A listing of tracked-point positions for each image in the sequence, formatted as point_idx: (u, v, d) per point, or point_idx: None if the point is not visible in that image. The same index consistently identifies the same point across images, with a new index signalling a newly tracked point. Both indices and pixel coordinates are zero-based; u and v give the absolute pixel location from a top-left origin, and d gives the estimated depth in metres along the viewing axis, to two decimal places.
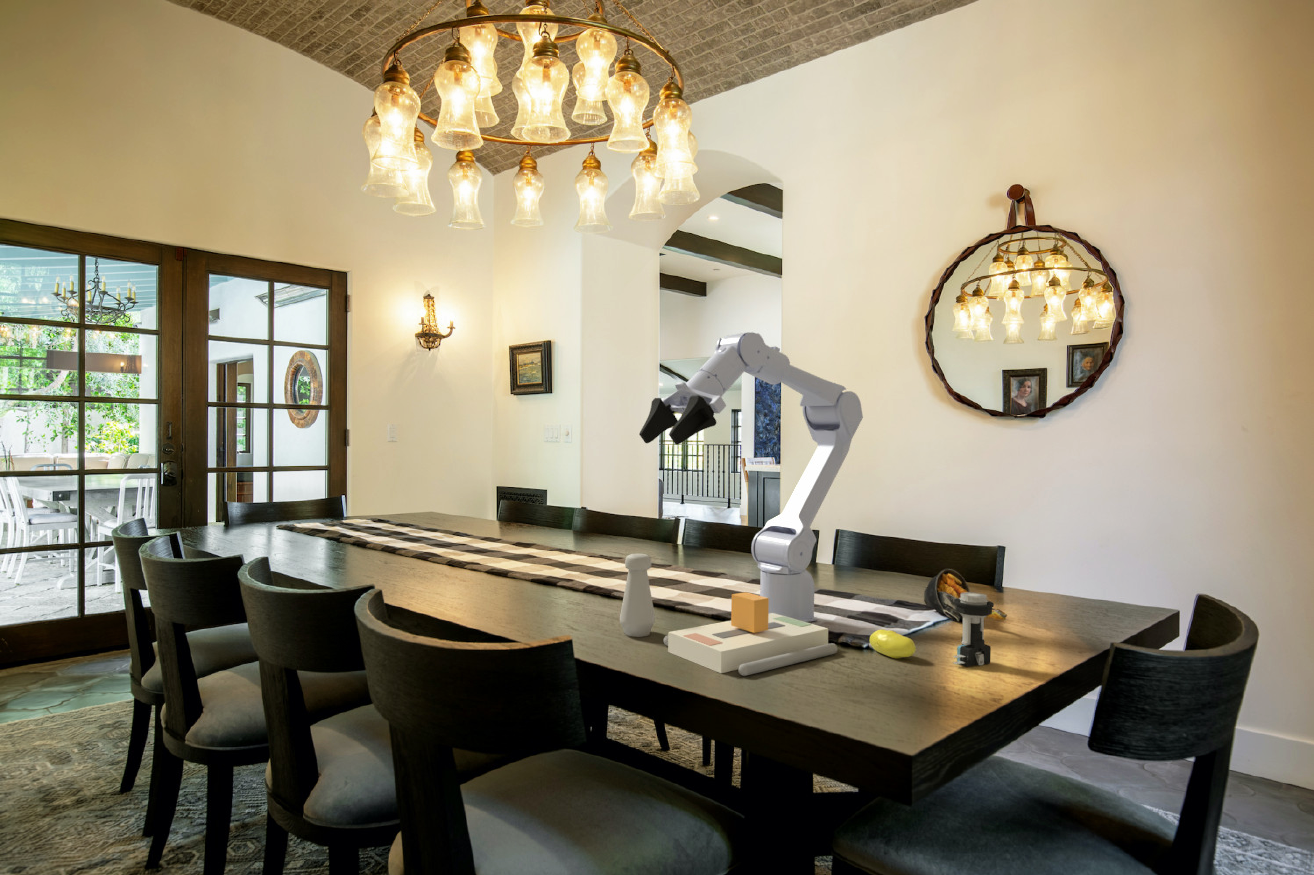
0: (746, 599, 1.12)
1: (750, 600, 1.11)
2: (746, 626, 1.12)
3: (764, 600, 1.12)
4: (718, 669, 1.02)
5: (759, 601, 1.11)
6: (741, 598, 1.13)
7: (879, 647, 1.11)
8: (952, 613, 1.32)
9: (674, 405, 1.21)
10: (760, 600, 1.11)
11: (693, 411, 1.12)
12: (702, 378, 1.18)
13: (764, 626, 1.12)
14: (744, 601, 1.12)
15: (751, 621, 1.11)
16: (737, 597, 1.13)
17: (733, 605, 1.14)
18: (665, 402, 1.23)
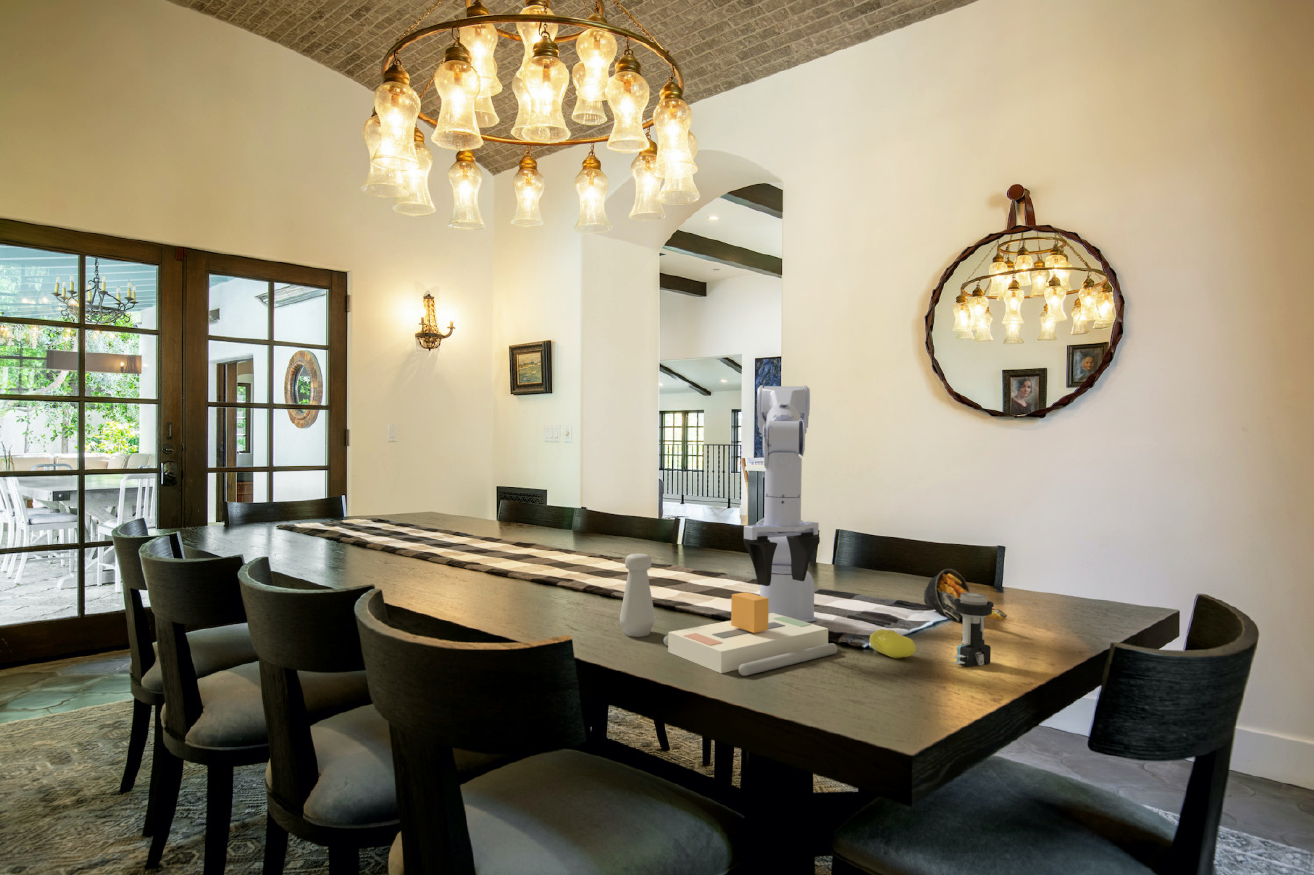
0: (746, 599, 1.12)
1: (750, 600, 1.11)
2: (746, 626, 1.12)
3: (764, 600, 1.12)
4: (718, 669, 1.02)
5: (759, 601, 1.11)
6: (741, 598, 1.13)
7: (879, 647, 1.11)
8: (952, 613, 1.32)
9: (768, 533, 1.15)
10: (760, 600, 1.11)
11: None
12: (800, 507, 1.16)
13: (764, 626, 1.12)
14: (744, 601, 1.12)
15: (751, 621, 1.11)
16: (737, 597, 1.13)
17: (733, 605, 1.14)
18: None
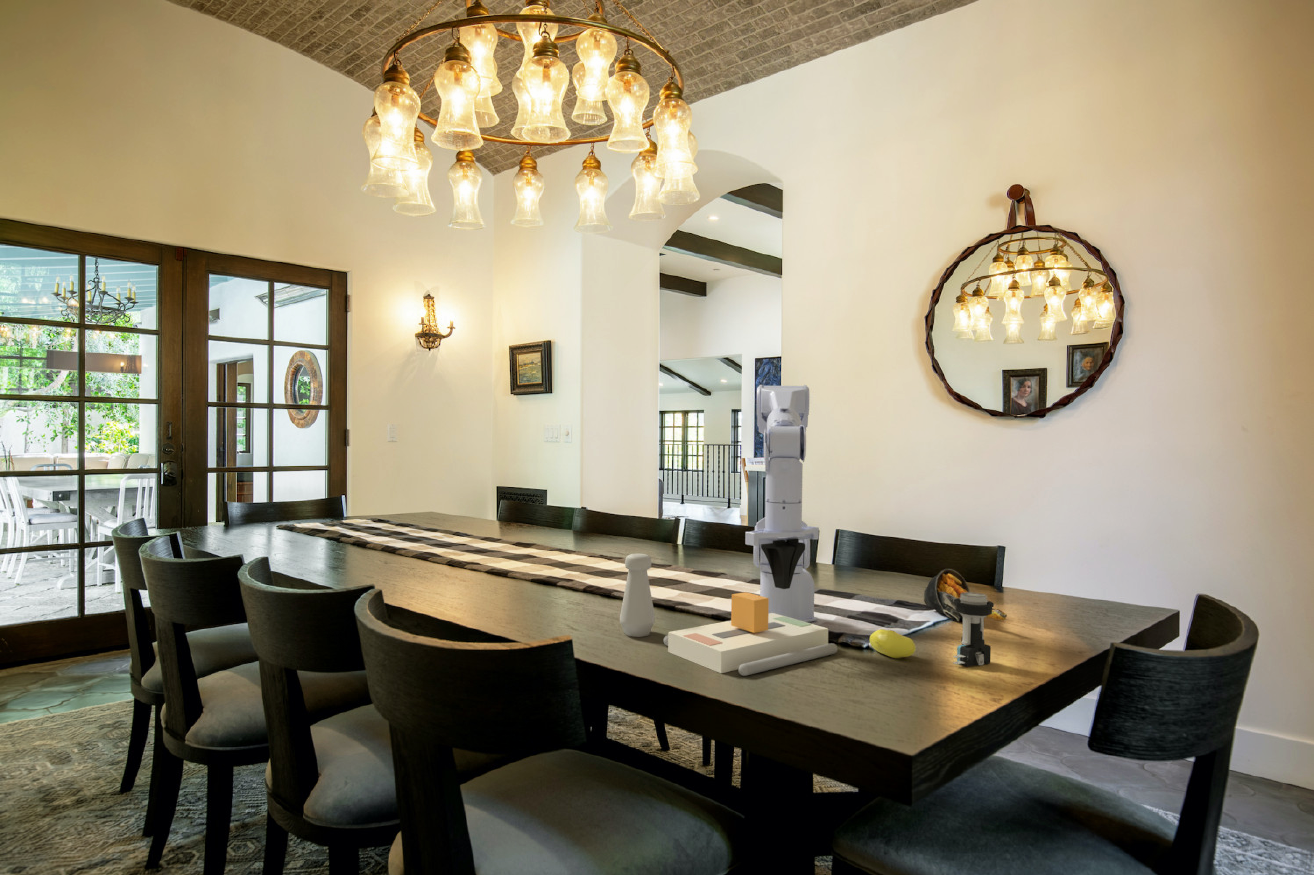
0: (746, 599, 1.12)
1: (750, 600, 1.11)
2: (746, 626, 1.12)
3: (764, 600, 1.12)
4: (718, 669, 1.02)
5: (759, 601, 1.11)
6: (741, 598, 1.13)
7: (879, 647, 1.11)
8: (952, 613, 1.32)
9: (769, 539, 1.15)
10: (760, 600, 1.11)
11: None
12: (801, 512, 1.16)
13: (764, 626, 1.12)
14: (744, 601, 1.12)
15: (751, 621, 1.11)
16: (737, 597, 1.13)
17: (733, 605, 1.14)
18: None
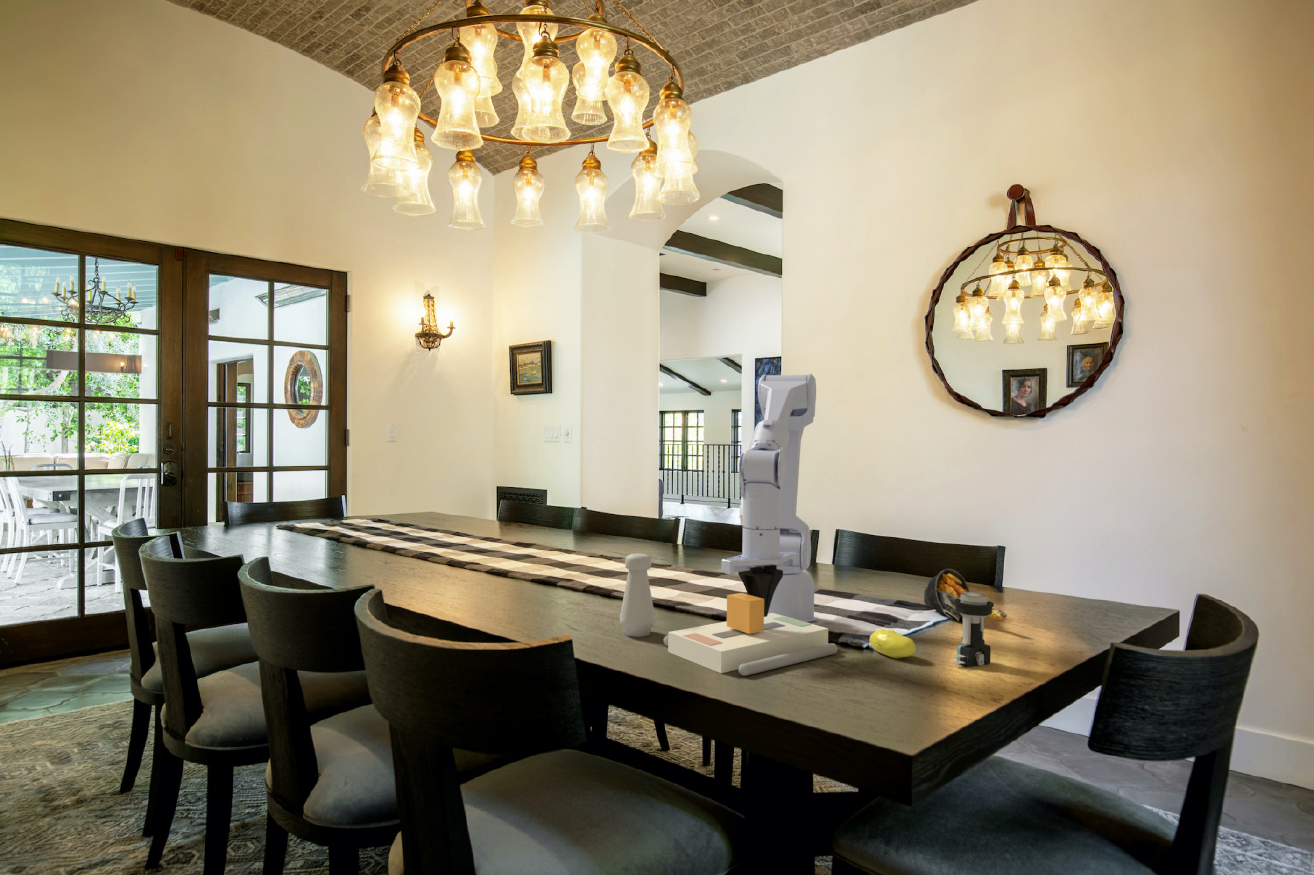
0: (741, 600, 1.11)
1: (745, 601, 1.10)
2: (741, 627, 1.11)
3: (759, 601, 1.11)
4: (718, 669, 1.02)
5: (754, 602, 1.10)
6: (736, 599, 1.12)
7: (879, 647, 1.11)
8: (952, 613, 1.32)
9: (746, 566, 1.12)
10: (755, 601, 1.11)
11: None
12: (779, 538, 1.13)
13: (759, 627, 1.11)
14: (739, 601, 1.11)
15: (746, 622, 1.10)
16: (732, 598, 1.13)
17: (729, 606, 1.13)
18: (735, 565, 1.10)
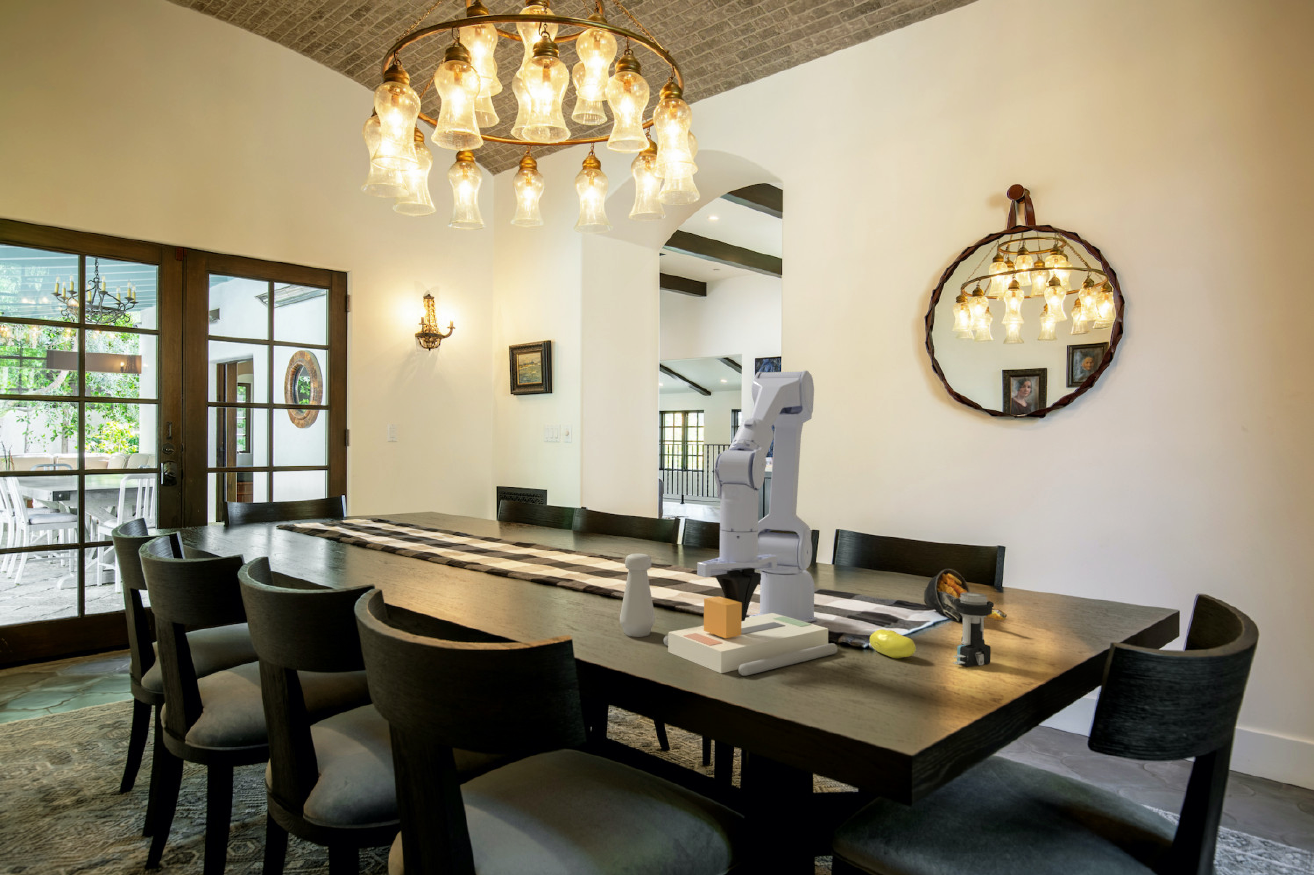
0: (718, 604, 1.08)
1: (722, 605, 1.08)
2: (718, 631, 1.08)
3: (737, 605, 1.08)
4: (718, 669, 1.02)
5: (731, 606, 1.08)
6: (713, 603, 1.09)
7: (879, 647, 1.11)
8: (952, 613, 1.32)
9: (722, 569, 1.09)
10: (733, 605, 1.08)
11: None
12: (757, 541, 1.11)
13: (737, 631, 1.08)
14: (716, 605, 1.09)
15: (723, 626, 1.07)
16: (709, 601, 1.10)
17: (706, 609, 1.11)
18: None
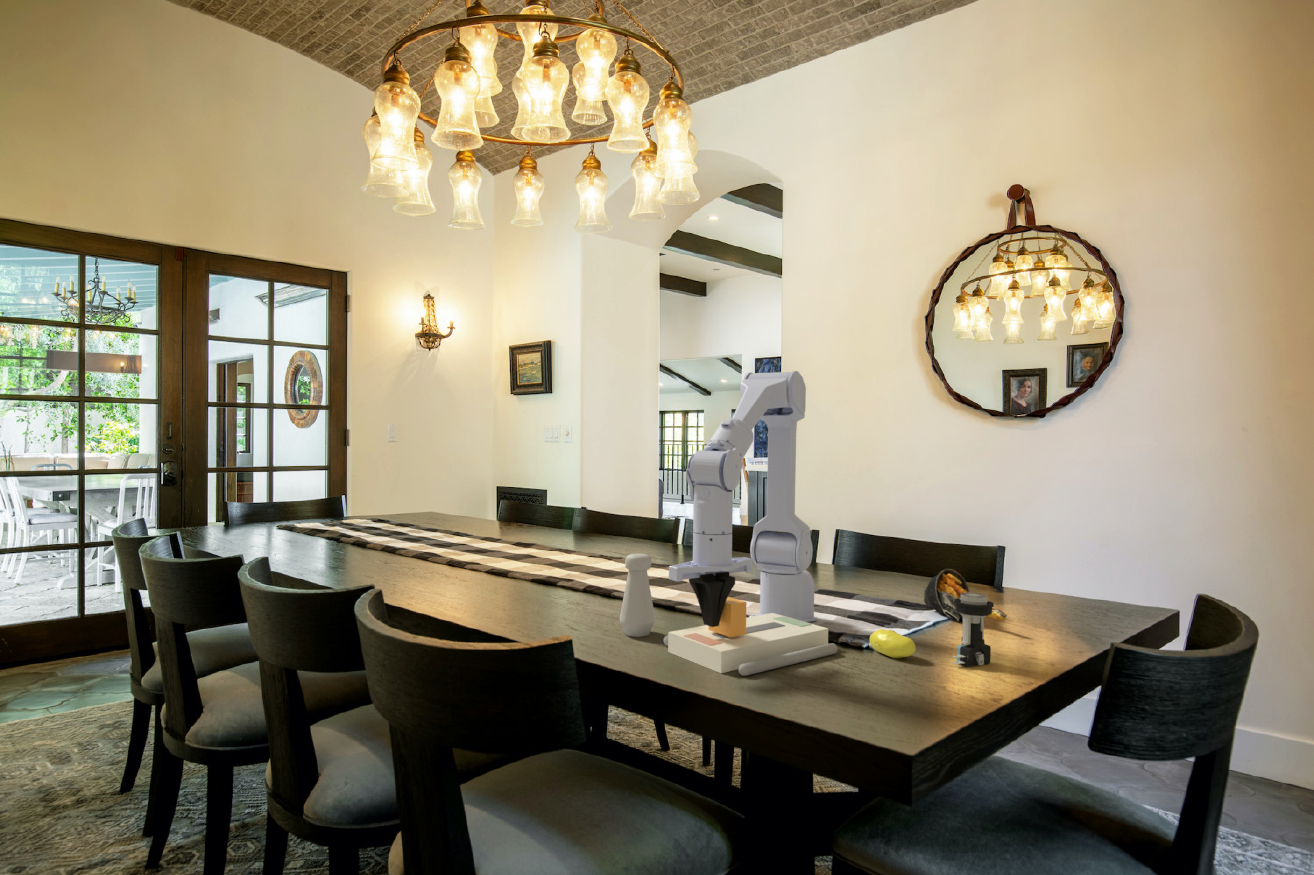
0: None
1: (727, 604, 1.08)
2: (723, 630, 1.09)
3: (741, 604, 1.09)
4: (718, 669, 1.02)
5: (736, 605, 1.08)
6: None
7: (879, 647, 1.11)
8: (952, 613, 1.32)
9: (695, 573, 1.06)
10: (737, 604, 1.08)
11: None
12: (731, 544, 1.08)
13: (742, 630, 1.09)
14: None
15: (728, 625, 1.08)
16: None
17: None
18: (683, 572, 1.05)
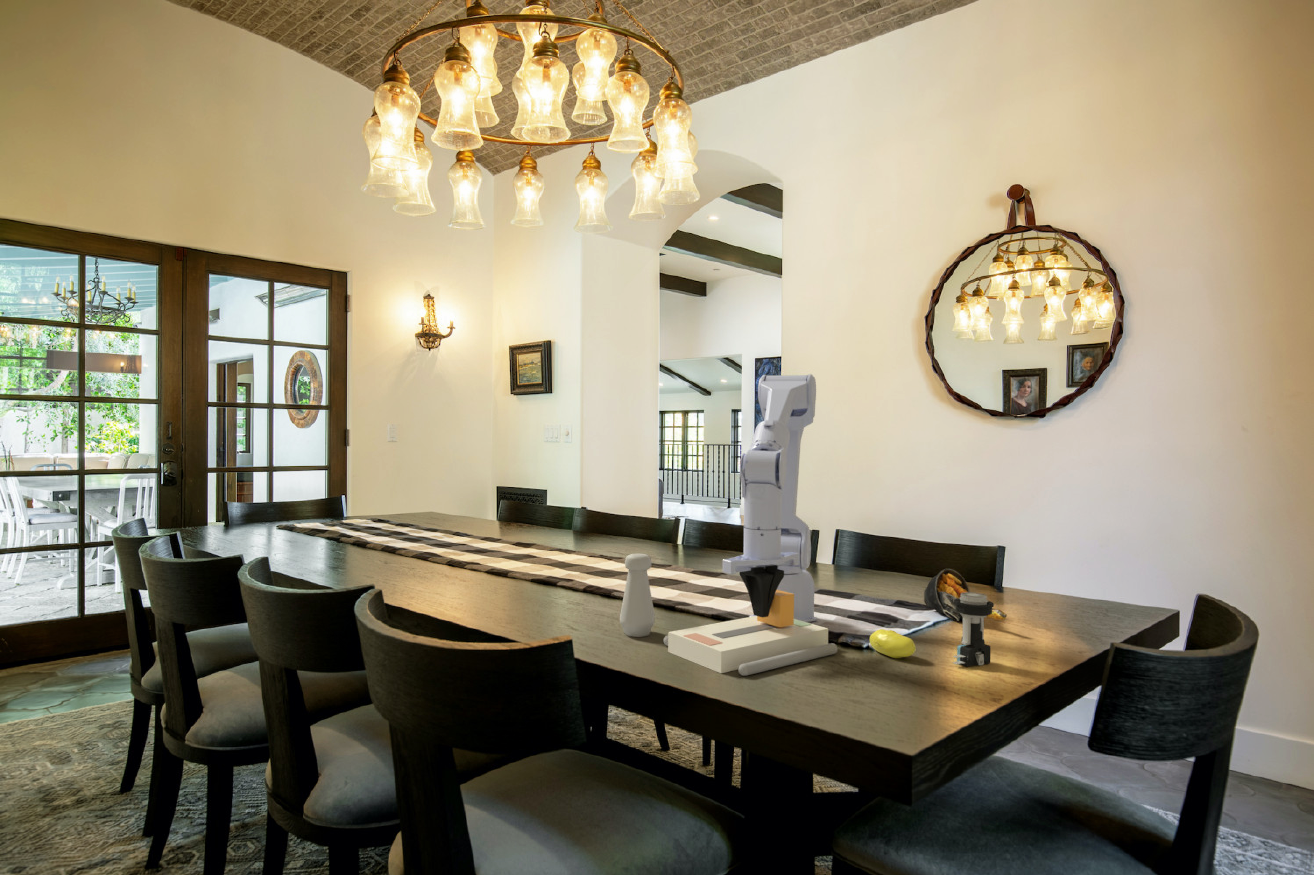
0: None
1: (776, 596, 1.14)
2: (772, 621, 1.15)
3: (790, 596, 1.15)
4: (718, 669, 1.02)
5: (785, 597, 1.14)
6: None
7: (879, 647, 1.11)
8: (952, 613, 1.32)
9: (747, 566, 1.12)
10: (786, 596, 1.14)
11: None
12: (780, 539, 1.14)
13: (790, 621, 1.15)
14: None
15: (777, 616, 1.14)
16: None
17: None
18: (736, 566, 1.11)
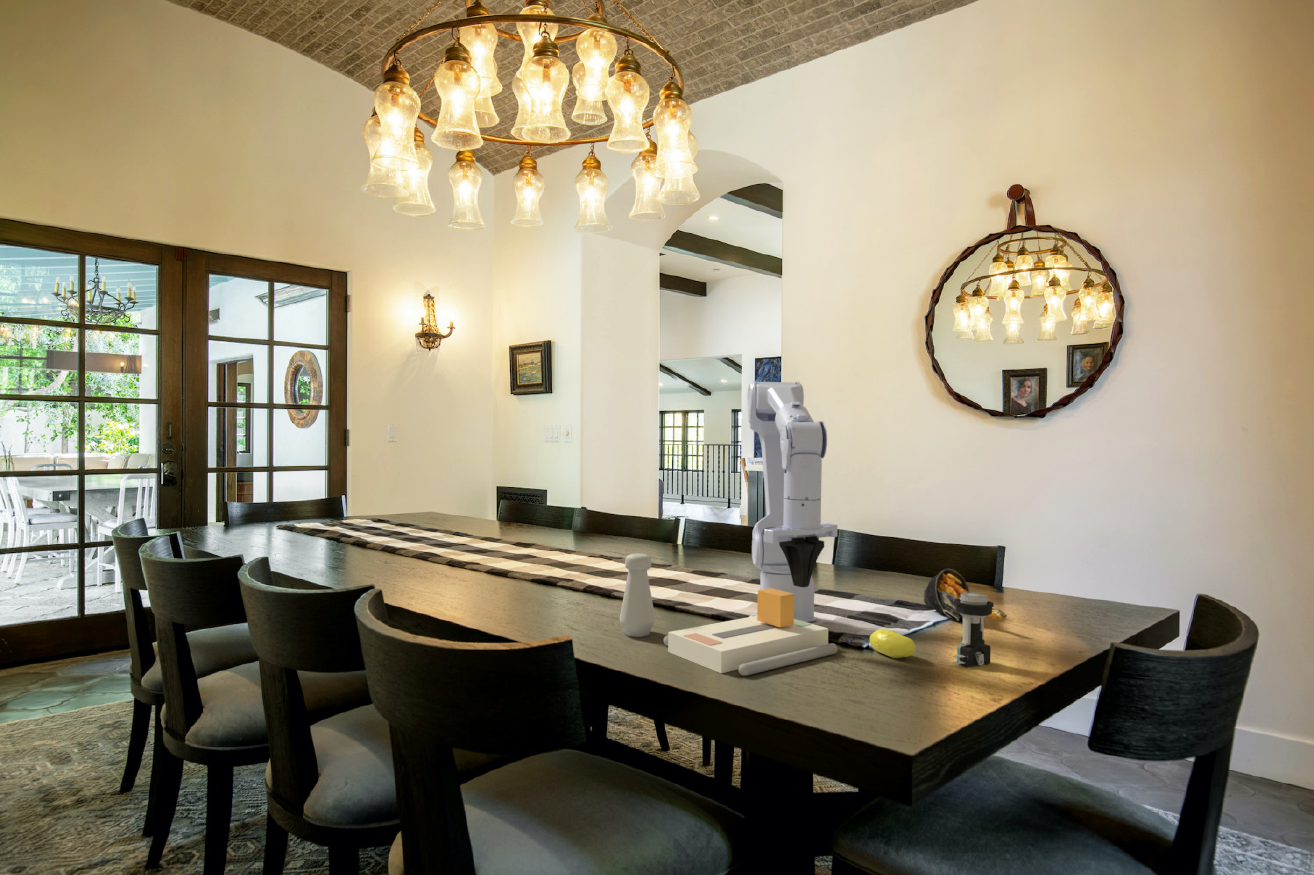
0: (772, 595, 1.15)
1: (776, 596, 1.14)
2: (772, 621, 1.15)
3: (790, 596, 1.15)
4: (718, 669, 1.02)
5: (785, 597, 1.14)
6: (767, 594, 1.16)
7: (879, 647, 1.11)
8: (952, 613, 1.32)
9: (788, 536, 1.13)
10: (786, 596, 1.14)
11: None
12: (820, 509, 1.14)
13: (790, 621, 1.15)
14: (770, 596, 1.15)
15: (777, 616, 1.14)
16: (763, 593, 1.17)
17: (759, 600, 1.17)
18: None
